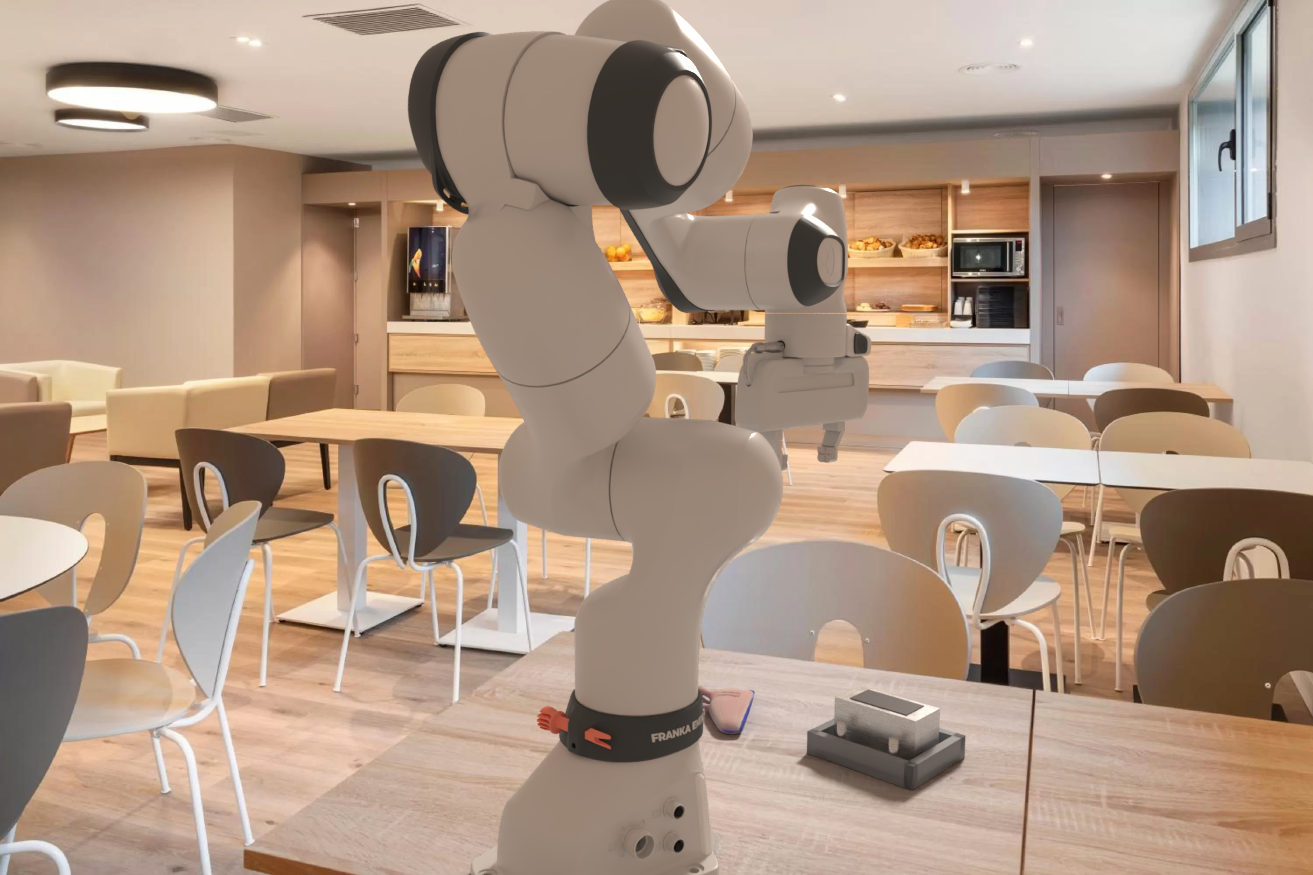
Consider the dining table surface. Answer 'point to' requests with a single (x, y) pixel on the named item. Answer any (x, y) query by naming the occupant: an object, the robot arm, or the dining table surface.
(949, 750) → the pin tray
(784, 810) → the dining table surface
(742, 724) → the anatomical model
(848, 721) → the block
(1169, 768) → the dining table surface
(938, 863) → the dining table surface
